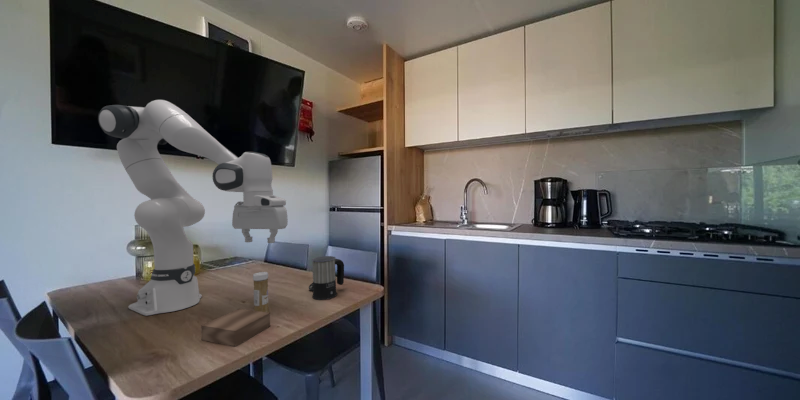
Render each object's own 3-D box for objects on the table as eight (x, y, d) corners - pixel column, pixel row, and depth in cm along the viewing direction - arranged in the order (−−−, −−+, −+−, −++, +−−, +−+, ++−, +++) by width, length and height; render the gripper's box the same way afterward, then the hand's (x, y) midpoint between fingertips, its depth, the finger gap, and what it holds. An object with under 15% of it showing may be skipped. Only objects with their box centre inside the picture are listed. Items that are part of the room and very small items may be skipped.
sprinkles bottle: (269, 314, 94) (269, 273, 94) (254, 317, 91) (253, 275, 91) (267, 309, 98) (267, 270, 98) (252, 312, 95) (252, 272, 95)
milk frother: (327, 301, 104) (326, 261, 104) (293, 297, 110) (292, 258, 110) (347, 289, 118) (347, 254, 118) (316, 286, 123) (315, 252, 123)
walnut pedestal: (201, 339, 77) (201, 325, 77) (239, 321, 88) (238, 308, 88) (235, 346, 73) (235, 331, 73) (270, 326, 85) (269, 312, 85)
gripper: (226, 201, 94) (227, 243, 94) (276, 200, 88) (277, 244, 88) (242, 201, 100) (243, 240, 100) (290, 200, 94) (291, 241, 94)
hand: (259, 242), depth 94 cm, fingers open, 8 cm apart
